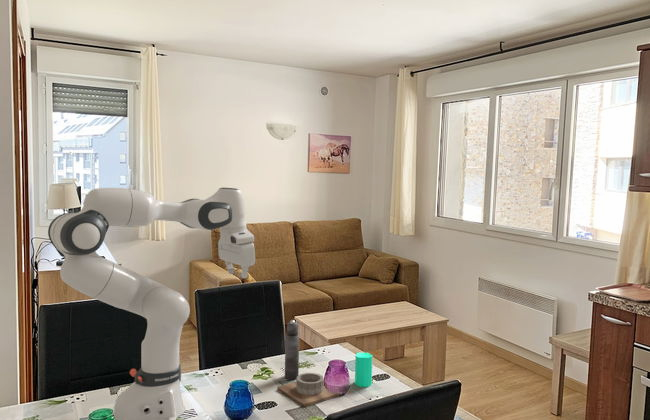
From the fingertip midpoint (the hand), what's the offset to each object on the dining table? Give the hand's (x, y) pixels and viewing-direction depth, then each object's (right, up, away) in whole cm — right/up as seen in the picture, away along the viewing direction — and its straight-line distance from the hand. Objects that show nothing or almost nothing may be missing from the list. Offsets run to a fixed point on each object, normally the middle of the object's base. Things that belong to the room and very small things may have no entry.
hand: (237, 275), depth 169 cm
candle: (+43, -40, +10) cm, 60 cm away
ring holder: (+24, -40, +1) cm, 47 cm away
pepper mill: (+17, -39, +14) cm, 45 cm away
